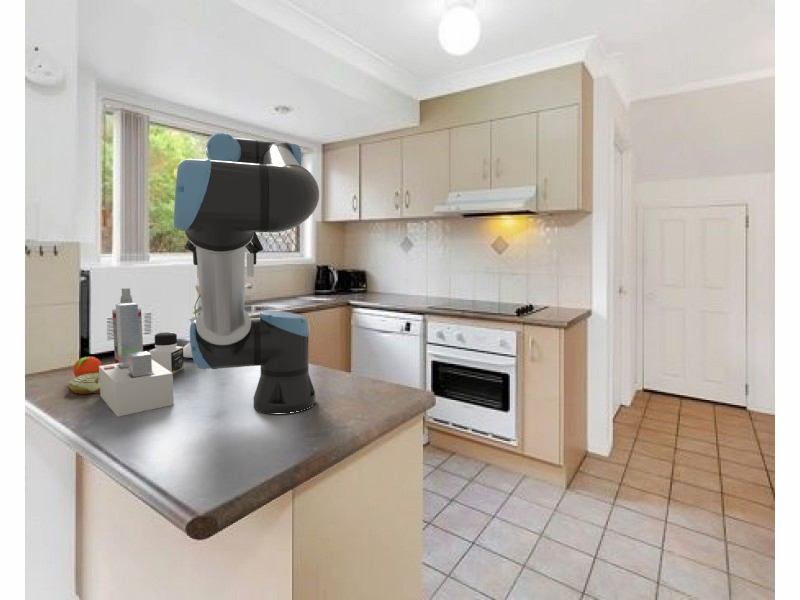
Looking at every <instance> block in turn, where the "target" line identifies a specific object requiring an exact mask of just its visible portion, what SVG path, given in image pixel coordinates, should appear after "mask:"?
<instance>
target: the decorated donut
mask: <svg viewBox="0 0 800 600" xmlns="http://www.w3.org/2000/svg"><path fill="white" fill-rule="evenodd" d="M68 387H69V388H70V390H71V391H72V392H73V393H75V394H77V393H79V394H78V395H89V394H100V378H99V373H90V374H84V375H80V376H78V377H76V376H74V377H73V378H71V379H70V380H69V382H68Z"/></svg>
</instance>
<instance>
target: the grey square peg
mask: <svg viewBox="0 0 800 600" xmlns="http://www.w3.org/2000/svg"><path fill="white" fill-rule="evenodd" d="M128 365H129V377H131V378H137V377H143V376H149V375H152V360H151V354H150V353H149V351H146V350H145V351H144V350H143V352H136V353H128Z"/></svg>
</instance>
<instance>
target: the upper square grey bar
mask: <svg viewBox="0 0 800 600" xmlns="http://www.w3.org/2000/svg"><path fill="white" fill-rule="evenodd" d="M138 308H139V304H138V303H135V302H133V303H115V309H116V320H117V339H118V358H119V368H120V369H125V368H129V365H128V353H136V352H140V343H139V321H138Z"/></svg>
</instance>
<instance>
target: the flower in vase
mask: <svg viewBox="0 0 800 600" xmlns="http://www.w3.org/2000/svg"><path fill="white" fill-rule="evenodd" d="M194 287H195V290H196V292H197V294H198V297H197V299H196V300H195V304H194V306H193V308H194V311H193V315H194V316H191V317H188V320H189V321H190V324H191V323H192V322H193V321H194V320H197V319H198V317H199V316H197V314H199V313H201V311H202V309H200V308H199V307H198V308H197V307H196V306H197V303H198V301H199V299H201V294H200V285H199V286H198V284H196V285H195V286H194ZM182 347H183V358H188V359H193V356H192V352H191V345H190V341H189V342H188V343H187V344H186V345H184V346H182Z"/></svg>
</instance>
